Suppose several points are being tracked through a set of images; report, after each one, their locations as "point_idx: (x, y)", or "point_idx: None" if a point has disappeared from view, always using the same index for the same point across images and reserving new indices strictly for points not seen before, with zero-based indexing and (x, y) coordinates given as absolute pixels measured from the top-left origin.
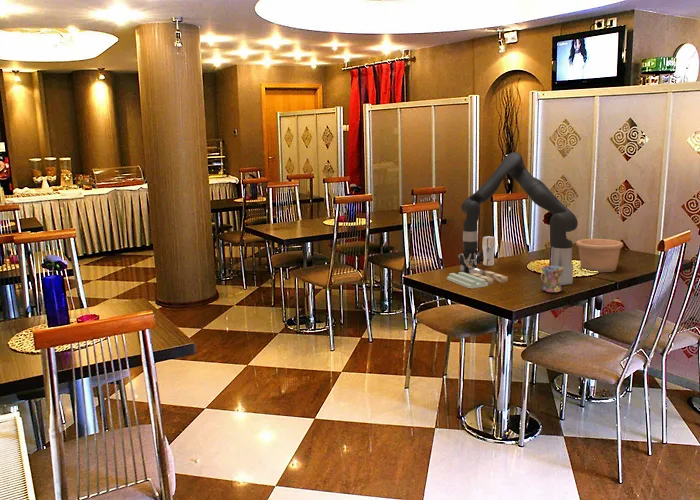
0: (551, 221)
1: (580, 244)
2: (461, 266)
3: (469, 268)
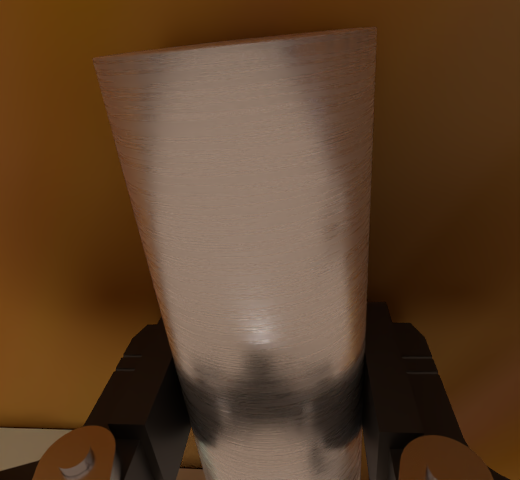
0: None
1: None
2: (121, 156)
3: (205, 469)
